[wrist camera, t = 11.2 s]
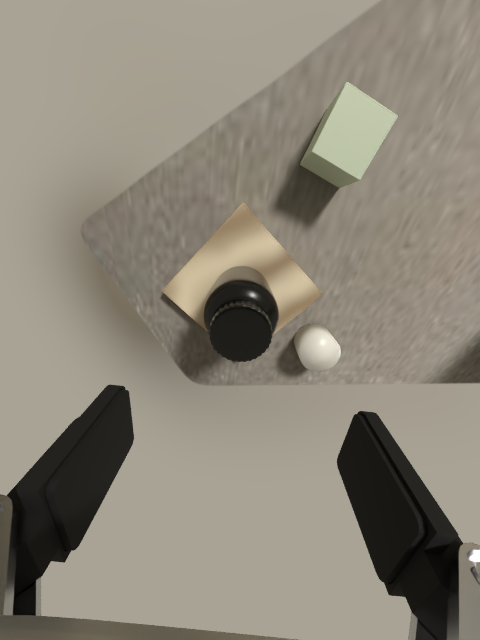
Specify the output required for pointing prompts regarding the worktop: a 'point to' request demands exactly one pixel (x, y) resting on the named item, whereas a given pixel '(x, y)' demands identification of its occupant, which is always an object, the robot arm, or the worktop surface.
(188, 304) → the birch board
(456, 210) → the worktop surface
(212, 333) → the supplement bottle
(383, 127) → the sage block
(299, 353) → the white rounded lump
